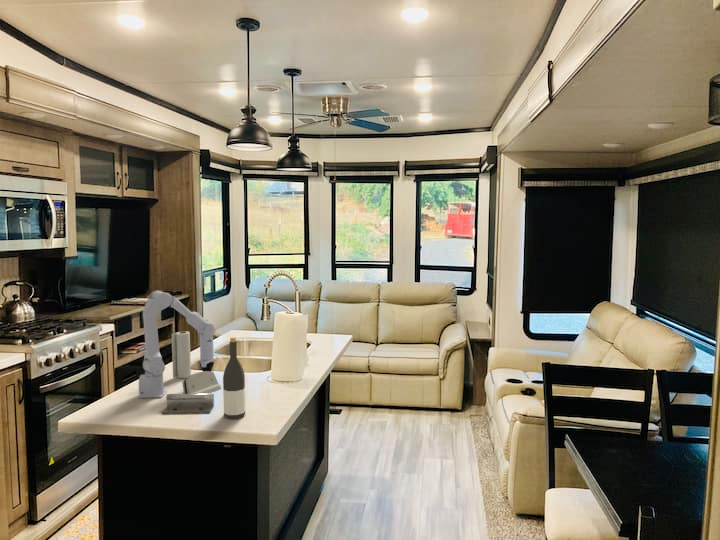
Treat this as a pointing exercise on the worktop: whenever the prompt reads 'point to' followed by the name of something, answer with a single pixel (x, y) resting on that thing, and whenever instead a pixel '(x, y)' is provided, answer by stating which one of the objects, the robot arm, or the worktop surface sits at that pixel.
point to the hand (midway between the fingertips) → (207, 378)
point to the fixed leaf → (189, 403)
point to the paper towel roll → (181, 354)
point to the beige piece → (201, 383)
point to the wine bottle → (234, 385)
